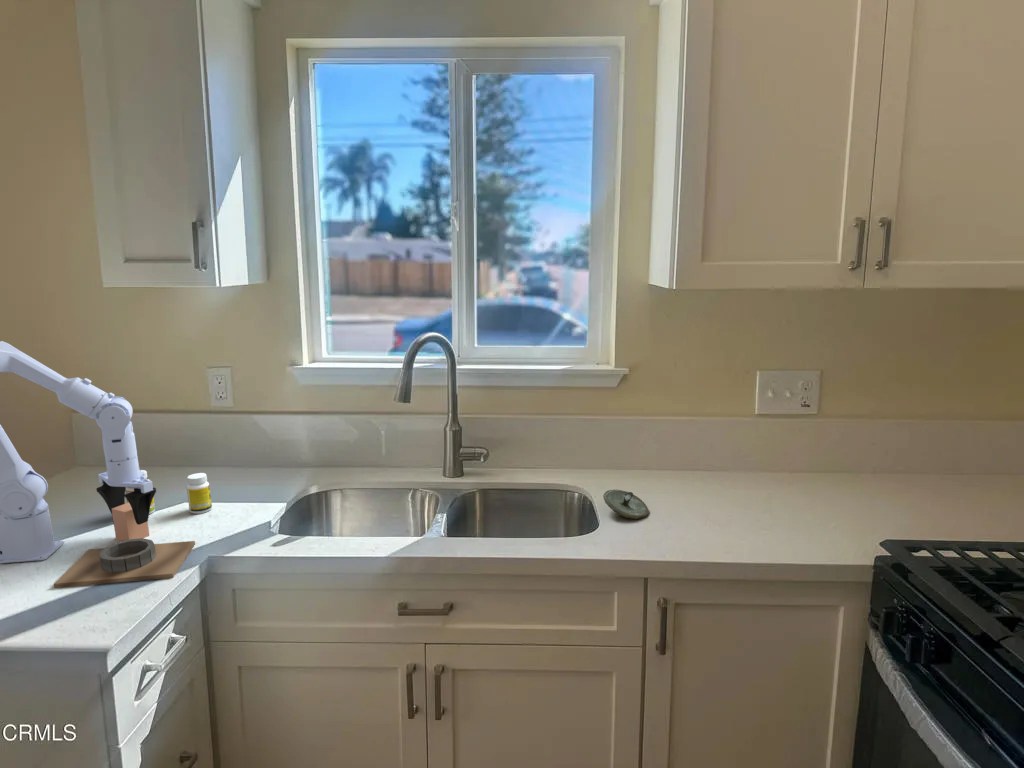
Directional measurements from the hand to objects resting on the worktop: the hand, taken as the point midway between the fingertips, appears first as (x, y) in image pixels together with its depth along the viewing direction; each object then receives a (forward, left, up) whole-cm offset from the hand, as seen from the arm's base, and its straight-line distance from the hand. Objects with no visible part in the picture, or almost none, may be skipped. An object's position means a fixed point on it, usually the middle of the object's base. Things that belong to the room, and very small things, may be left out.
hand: (130, 519), depth 140 cm
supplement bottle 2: (+10, +13, -4) cm, 17 cm away
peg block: (0, 0, -4) cm, 4 cm away
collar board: (+4, -13, -4) cm, 14 cm away
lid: (+105, -7, -4) cm, 106 cm away
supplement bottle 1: (-3, +14, -4) cm, 15 cm away
